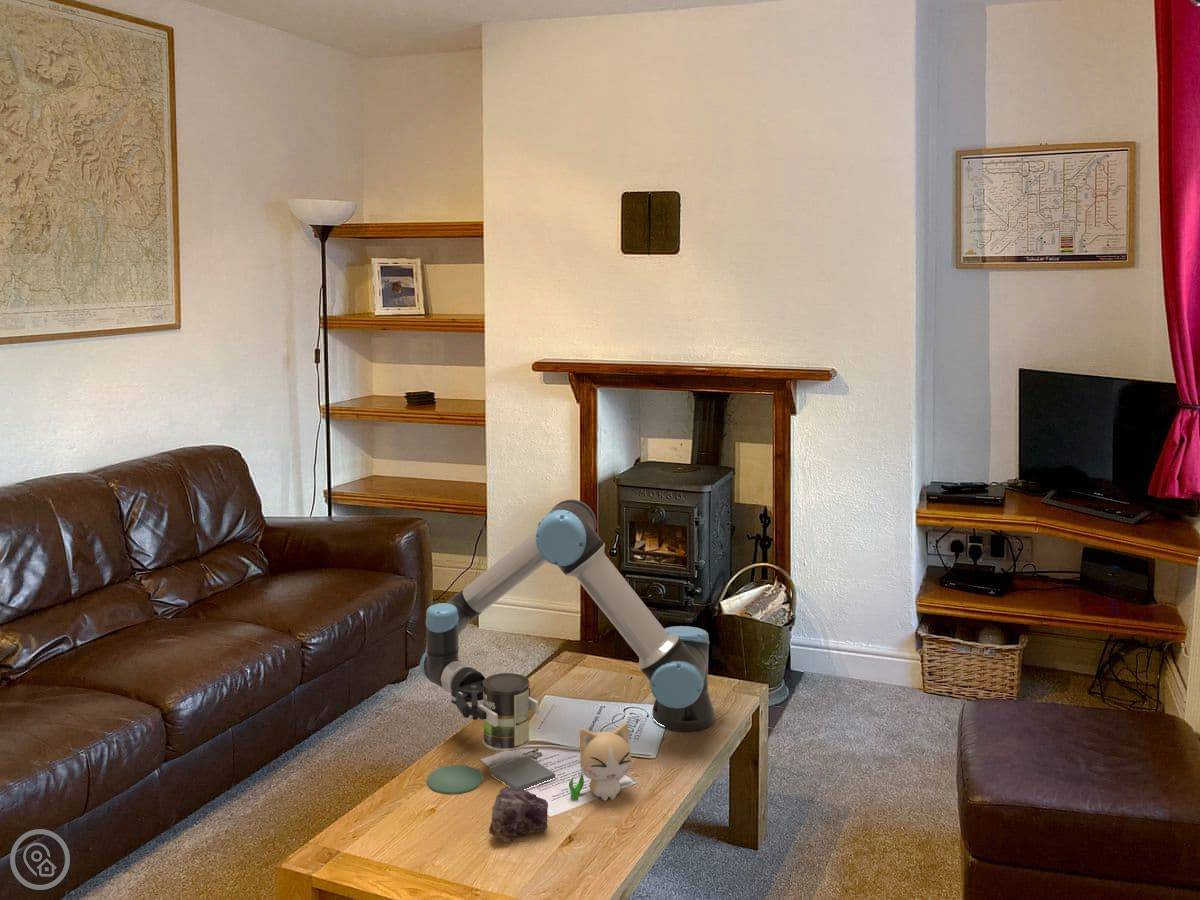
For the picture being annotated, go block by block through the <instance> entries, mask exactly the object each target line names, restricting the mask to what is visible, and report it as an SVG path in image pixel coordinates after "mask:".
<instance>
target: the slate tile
mask: <svg viewBox="0 0 1200 900" xmlns="http://www.w3.org/2000/svg"><path fill="white" fill-rule="evenodd" d="M489 773H490V774H491V775H490V774H489ZM488 774H489V775H490V776H492V775H493V776H494V777H496V778H497V779H499V780H500V781H502V782H504V783H505V784H506V785H508V786H509V787H510V788H518V789H522V790H524V789H527V788H529V787H531V786H534V785H537V784H539V783H542V782H544V781H547V780H550V779H553V778H555V779H556V773H555V772H553V771H552V770H550V769H549V768H547V767H545V766H544V765H542V764H541V763H539V762H538V761H536V760H535V759H533V758H532V757H530V756H528V755H523V756H521V757H518V758H515V759H511V760H509V761H506V762H503V763H499V764H496V765H494V766H490V767H489V768H488ZM493 776H492V777H493ZM494 777H493V778H494ZM496 778H495V779H496ZM497 779H496V780H497ZM499 780H498V781H499ZM500 781H499V782H500ZM502 782H501V783H502ZM506 785H505V786H506ZM509 787H508V788H509Z"/></svg>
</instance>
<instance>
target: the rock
mask: <svg viewBox="0 0 1200 900" xmlns="http://www.w3.org/2000/svg"><path fill="white" fill-rule="evenodd" d="M548 810H549V802H548V801H547V800H546V799H545V798H541V797H538V796H537V794H536V793H535V794H534V793H532V792H530V791H527V790H525V791H524V790H522V789H518V788H509V787H503V788H501V789H500V790H499V792H498V794H497V795H496V798H495V801H494V804H493V805H492V810H491V822H490V825H489V827H488V828H489V831H488V833H489V834H491V835H492V836H493V837H497V838H498V839H500V840H502V841H503V842H504V843H512V842H513V841H514V839H515V838H516V837H517V836H518V837H524V836H529V834H531V833H539V832H545V831H546V832H547V829H548V826H549V825H548V820H549V819H548V813H549V812H548Z"/></svg>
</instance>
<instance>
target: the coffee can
mask: <svg viewBox="0 0 1200 900" xmlns="http://www.w3.org/2000/svg"><path fill="white" fill-rule="evenodd" d="M529 688H530V680H529V678H528V677H526V676H525V675H522V674H520V673H519V674H518V673H513V672H512V673H511V672H503V673H501V672H500V673H495V674H492V675H490V676H487V677H485V679H484V681H483V700H482V701H483V703H482V705H484V706H485V707H487V708H488V709H490V710H492V711H493V712H495V713H496V714H498V726H496V727H494V726H493V725H491V724H490V723H488V722H486V721H485V720H483V741H482V742H483V745H484V746H485V747H486V748H488V749H489V750H493V751H496V752H516V751H518V750H521V749H523V748H525V747H526V746H528V744H529V743H530V737H529V736H530V722H529V720H530V712H529V711H530V710H529Z"/></svg>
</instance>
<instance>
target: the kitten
mask: <svg viewBox="0 0 1200 900" xmlns="http://www.w3.org/2000/svg"><path fill="white" fill-rule="evenodd" d="M629 744H630V743H629V728H628V724H627V723H626V722H624V723H622V724H621V725H620V726H618V727H617V728H615V729H614V730H613V731H601V732H597V733H594V732H592V731H590V730H587V729H585V728H583V727H582V728H580V730H579V748H578V749H579V753H580V757H579V759H580V760H579V762H580V763H579V764H580V770H581V772H582V773H580V776H579V780H578V782H577V784H576V785H575V787H574V777H572V778H571V779H570V781H569V783H568V786H569V789H570V797H571V799H572V800H573V801H579V796H581V791H582V789H583V787H584V784H585V783H584V779H585V778H584V776H585V777H586V778H588V779H589V780H590V781H589V786H588V787H589V789H590V791H591V792H592V794H593V795H594V796H596V797H600V798H601V799H602V801H604V802H606V801H608V798H610V800H612V801H613V800H615V799H616V798H617V795H618V794H619V793H620V792H621V789H622V788H621V787H622V786H621V779H623V778H624V776H626V775H627V774H628V773H629V772H630V770H631V768H632V762H633V761H632V760H633V759H632V754H631V749H630V747H629Z"/></svg>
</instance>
